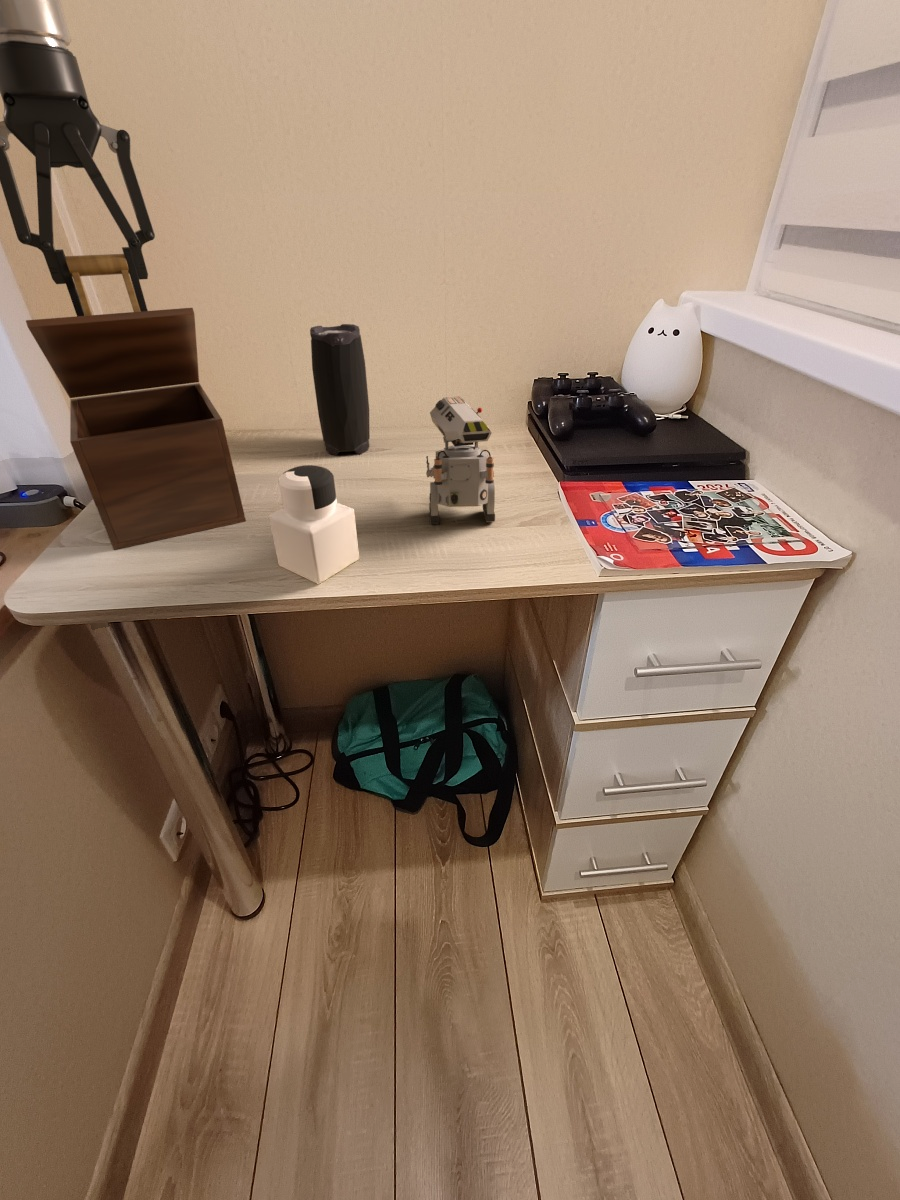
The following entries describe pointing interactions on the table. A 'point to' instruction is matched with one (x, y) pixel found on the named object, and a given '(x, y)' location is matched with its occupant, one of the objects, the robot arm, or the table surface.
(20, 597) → the table surface
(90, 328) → the chest lid
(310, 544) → the medicine bottle
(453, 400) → the figurine
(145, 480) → the chest
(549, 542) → the table surface
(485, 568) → the table surface
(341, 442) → the portable speaker
